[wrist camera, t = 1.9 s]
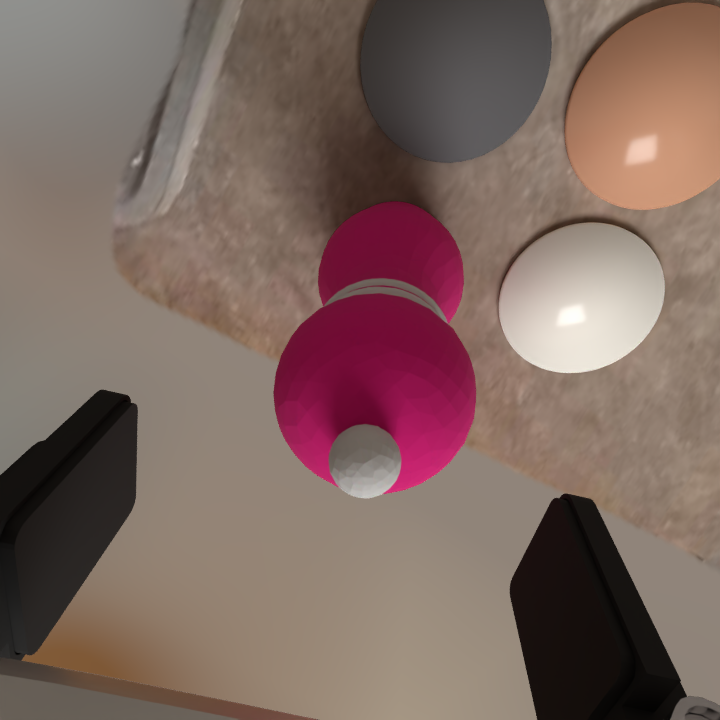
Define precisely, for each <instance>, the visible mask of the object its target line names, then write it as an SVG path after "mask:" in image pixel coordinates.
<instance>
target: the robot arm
mask: <svg viewBox="0 0 720 720" xmlns="http://www.w3.org/2000/svg"><path fill="white" fill-rule="evenodd" d="M137 414H138V410H137V405H136V404H134V403H131V399H130V397H129V396H128V395H124V394H120V393H115V392H111V391H107V390H99V391H98V392H97V393H95V394H94V395H93V396H92V397H91V398H90V399H89V400H88V401H87V402H86V403H85V404H84V405H83V406H81V408H79V409H78V410H77V411H76V412H75V413H74V414H73V415H72V416H71V417H70V418H69V419H68V420H66V421H65V422H64V423H63V424H62V425H61V426H60V427H59V428H58V429H57V430H56V431H54V432H53V433H52V434H51V435H50V436H49V437H48V438H47V439H46V440H44V441H40V442H38V443H36V444H35V445H33V446H32V447H31V448H30V449H29V450H28V451H26V452H25V453H24V454H23V455H22V456H21V457H20V458H19V459H18V460H17V461H16V462H14V463H13V464H12V465H11V466H10V467H9V468H8V469H7V470H6V471H5V472H4V473H2V474H1V475H0V720H318V719H313V718H308V717H303V716H298V715H293V714H288V713H284V712H279V711H274V710H269V709H264V708H260V707H255V706H250V705H245V704H240V703H236V702H231V701H226V700H221V699H216V698H211V697H206V696H201V695H196V694H191V693H186V692H181V691H176V690H171V689H166V688H161V687H156V686H151V685H146V684H141V683H137V682H132V681H127V680H122V679H117V678H112V677H107V676H102V675H97V674H91V673H85V672H80V671H75V670H69V669H64V668H58V667H53V666H48V665H42V664H36V663H31V662H25V661H21V660H22V658H23V657H24V655H25V654H27V655H32V654H34V653H35V652H36V651H37V650H38V649H39V648H40V646H41V645H42V643H43V642H44V640H45V639H46V638H47V636H48V634H49V633H50V631H51V630H52V629H53V627H54V626H55V624H56V623H57V621H58V620H59V618H60V617H61V615H62V614H63V612H64V610H65V609H66V608H67V606H68V605H69V603H70V602H71V600H72V599H73V597H74V596H75V594H76V593H77V591H78V590H79V589H80V587H81V586H82V584H83V583H84V581H85V580H86V578H87V577H88V575H89V573H90V572H91V571H92V569H93V568H94V566H95V565H96V563H97V562H98V560H99V559H100V557H101V556H102V554H103V553H104V551H105V550H106V548H107V547H108V545H109V544H110V542H111V541H112V540H113V538H114V537H115V535H116V534H117V532H118V531H119V529H120V528H121V526H122V525H123V523H124V522H125V520H126V519H127V517H128V516H129V514H130V513H131V511H132V508H133V506H134V503H135V499H136V463H137V416H138V415H137ZM510 598H511V602H512V606H513V611H514V616H515V620H516V625H517V629H518V634H519V638H520V642H521V647H522V652H523V657H524V661H525V665H526V670H527V675H528V679H529V684H530V688H531V692H532V697H533V702H534V706H535V711H536V716H537V720H720V706H719V705H718V704H716V703H714V702H712V701H709V700H707V699H704V698H701V697H694V696H688V697H687V695H686V693H685V691H684V689H683V687H682V685H681V683H680V681H681V680H680V678H679V676H678V674H677V672H676V669H675V668H674V665H673V663H672V662H671V659H670V657H669V655H668V653H667V651H666V649H665V647H664V645H663V643H662V641H661V639H660V637H659V634H658V632H657V630H656V628H655V626H654V624H653V622H652V620H651V618H650V616H649V614H648V612H647V610H646V608H645V606H644V604H643V601H642V599H641V597H640V595H639V593H638V591H637V589H636V587H635V585H634V583H633V581H632V579H631V577H630V575H629V573H628V571H627V569H626V566H625V565H624V562H623V560H622V558H621V556H620V554H619V553H618V550H617V548H616V546H615V544H614V542H613V540H612V538H611V536H610V534H609V532H608V529H607V527H606V525H605V524H604V521H603V519H602V517H601V515H600V513H599V511H598V509H597V507H596V505H595V503H594V502H593V500H591V499H589V498H584V497H580V496H575V495H571V494H563V495H562V496H561V497H560V498H554V499H553V500H552V501H551V503H550V505H549V507H548V509H547V511H546V513H545V515H544V517H543V519H542V521H541V523H540V524H539V526H538V528H537V530H536V533H535V534H534V536H533V538H532V540H531V542H530V544H529V546H528V548H527V550H526V552H525V554H524V556H523V558H522V560H521V562H520V564H519V566H518V568H517V570H516V572H515V574H514V576H513V578H512V580H511V584H510Z"/></svg>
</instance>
